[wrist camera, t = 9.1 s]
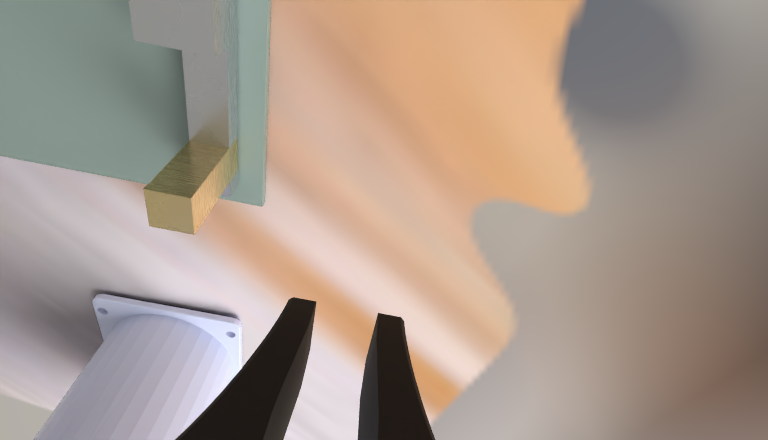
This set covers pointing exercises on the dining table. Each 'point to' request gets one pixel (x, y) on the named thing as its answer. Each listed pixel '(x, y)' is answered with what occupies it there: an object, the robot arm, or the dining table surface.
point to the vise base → (117, 91)
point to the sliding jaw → (196, 107)
